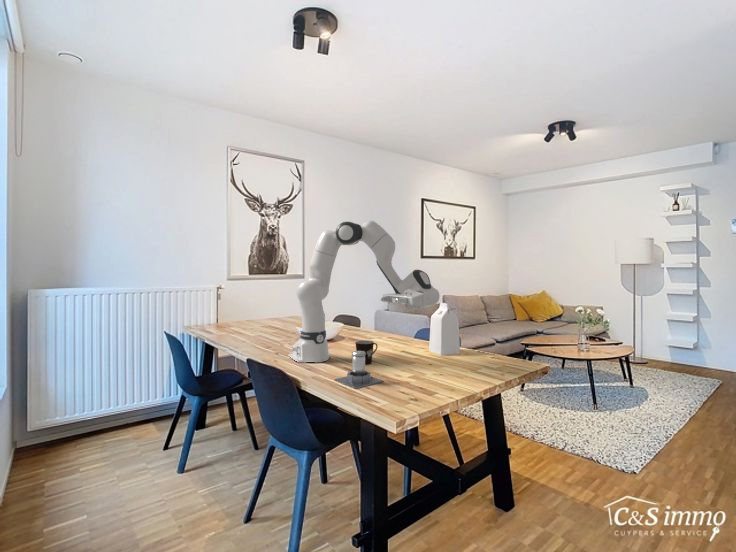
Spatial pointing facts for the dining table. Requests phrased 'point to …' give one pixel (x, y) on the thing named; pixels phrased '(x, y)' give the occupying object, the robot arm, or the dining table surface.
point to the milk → (444, 332)
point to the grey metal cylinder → (358, 363)
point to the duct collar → (359, 380)
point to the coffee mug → (366, 349)
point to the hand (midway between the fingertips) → (388, 300)
